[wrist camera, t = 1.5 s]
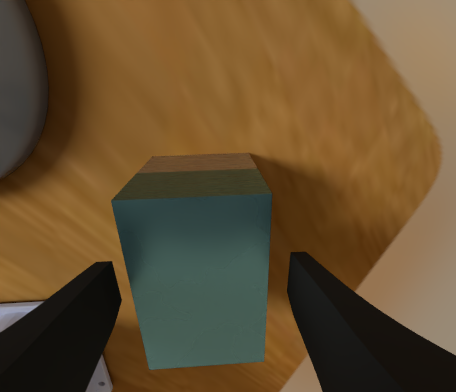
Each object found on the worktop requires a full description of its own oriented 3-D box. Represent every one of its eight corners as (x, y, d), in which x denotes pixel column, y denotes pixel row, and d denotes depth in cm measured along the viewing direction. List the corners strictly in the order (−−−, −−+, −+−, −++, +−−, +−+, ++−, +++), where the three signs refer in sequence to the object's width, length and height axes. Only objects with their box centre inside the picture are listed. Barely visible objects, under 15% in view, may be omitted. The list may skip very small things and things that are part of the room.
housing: (247, 273, 16) (264, 361, 11) (170, 277, 16) (149, 369, 11) (248, 152, 13) (272, 193, 8) (152, 155, 13) (111, 200, 8)
